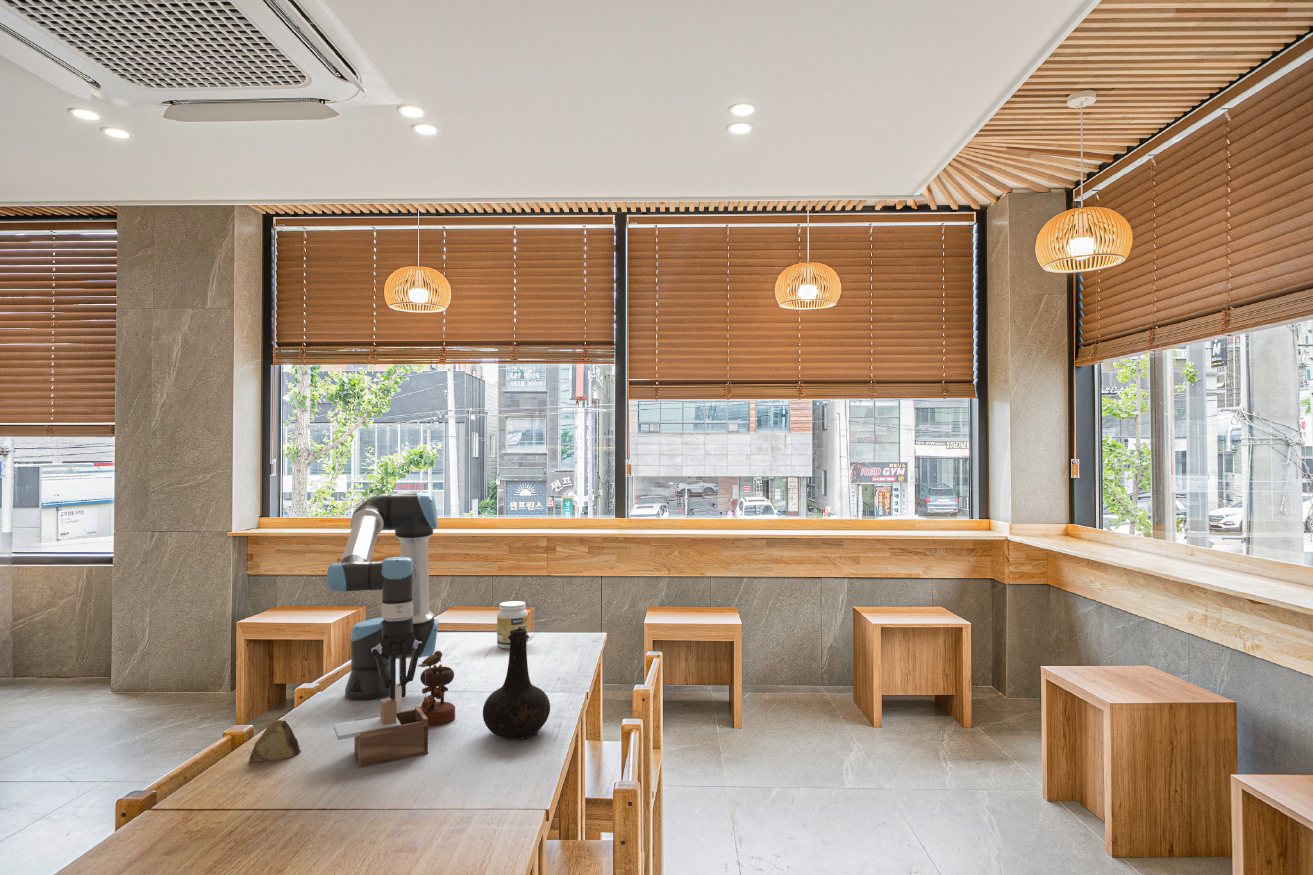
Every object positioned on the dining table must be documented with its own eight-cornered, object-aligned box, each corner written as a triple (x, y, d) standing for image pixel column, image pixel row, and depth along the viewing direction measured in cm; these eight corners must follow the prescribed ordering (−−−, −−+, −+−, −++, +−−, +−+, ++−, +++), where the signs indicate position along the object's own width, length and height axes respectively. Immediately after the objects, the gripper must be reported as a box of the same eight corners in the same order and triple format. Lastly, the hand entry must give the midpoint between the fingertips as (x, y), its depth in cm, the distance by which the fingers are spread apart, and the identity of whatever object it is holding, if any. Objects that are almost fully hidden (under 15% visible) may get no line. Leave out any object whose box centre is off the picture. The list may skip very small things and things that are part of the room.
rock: (236, 757, 178) (272, 754, 177) (248, 721, 184) (283, 718, 182) (264, 769, 187) (299, 766, 185) (275, 735, 192) (308, 732, 190)
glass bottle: (469, 741, 193) (469, 634, 194) (506, 718, 210) (505, 620, 211) (529, 749, 187) (528, 639, 188) (561, 725, 204) (560, 624, 205)
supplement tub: (512, 650, 285) (512, 607, 286) (490, 646, 292) (490, 604, 293) (534, 644, 296) (534, 602, 296) (512, 640, 302) (512, 599, 303)
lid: (333, 728, 184) (334, 704, 184) (394, 717, 191) (394, 694, 191) (338, 740, 176) (338, 714, 176) (401, 728, 183) (401, 704, 183)
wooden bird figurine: (446, 729, 202) (439, 656, 203) (408, 731, 203) (402, 658, 204) (466, 710, 217) (461, 642, 218) (431, 712, 219) (426, 645, 219)
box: (354, 751, 187) (354, 717, 187) (418, 739, 195) (418, 706, 195) (360, 767, 177) (360, 730, 177) (428, 753, 185) (427, 718, 185)
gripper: (373, 623, 181) (373, 719, 181) (426, 617, 188) (426, 710, 187) (368, 618, 188) (368, 710, 187) (420, 612, 194) (420, 701, 194)
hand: (397, 710), depth 187 cm, fingers closed
